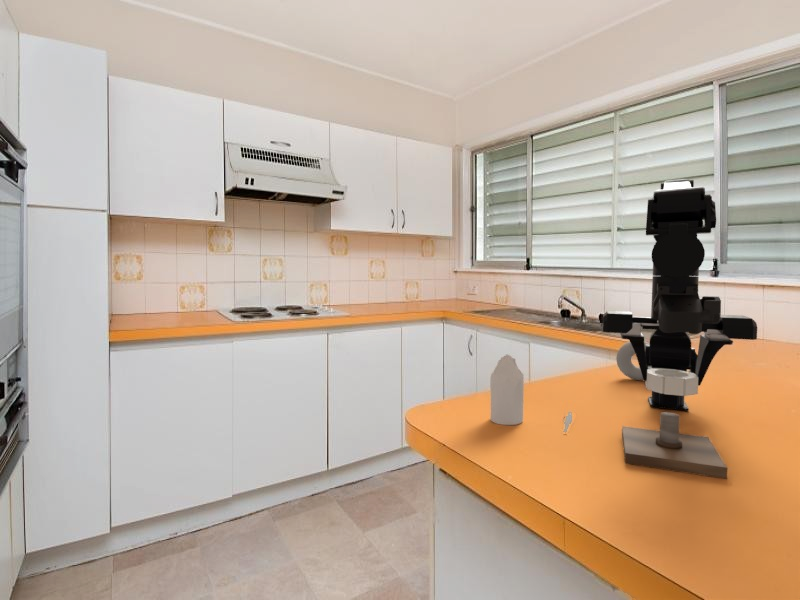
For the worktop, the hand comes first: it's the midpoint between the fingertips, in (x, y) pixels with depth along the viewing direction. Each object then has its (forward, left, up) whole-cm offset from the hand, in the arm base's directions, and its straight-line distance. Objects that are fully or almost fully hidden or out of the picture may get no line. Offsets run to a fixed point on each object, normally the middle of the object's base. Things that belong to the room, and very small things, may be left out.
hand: (670, 382), depth 67 cm
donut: (-49, -1, -11) cm, 50 cm away
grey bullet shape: (-6, -25, -11) cm, 28 cm away
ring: (0, 0, -1) cm, 1 cm away
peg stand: (0, 0, -11) cm, 11 cm away
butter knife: (-2, -14, -11) cm, 18 cm away
